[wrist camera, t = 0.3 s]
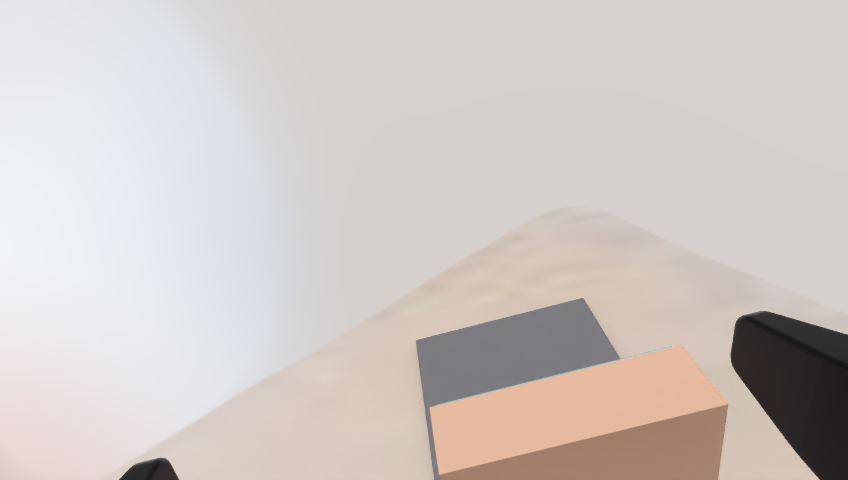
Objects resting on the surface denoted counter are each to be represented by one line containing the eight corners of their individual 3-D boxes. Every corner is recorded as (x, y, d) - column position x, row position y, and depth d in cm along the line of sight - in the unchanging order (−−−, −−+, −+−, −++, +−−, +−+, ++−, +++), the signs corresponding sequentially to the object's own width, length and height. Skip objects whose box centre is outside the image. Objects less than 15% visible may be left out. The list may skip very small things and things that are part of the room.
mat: (700, 496, 21) (700, 490, 21) (446, 556, 21) (443, 552, 21) (583, 302, 32) (582, 297, 32) (417, 344, 32) (415, 340, 32)
